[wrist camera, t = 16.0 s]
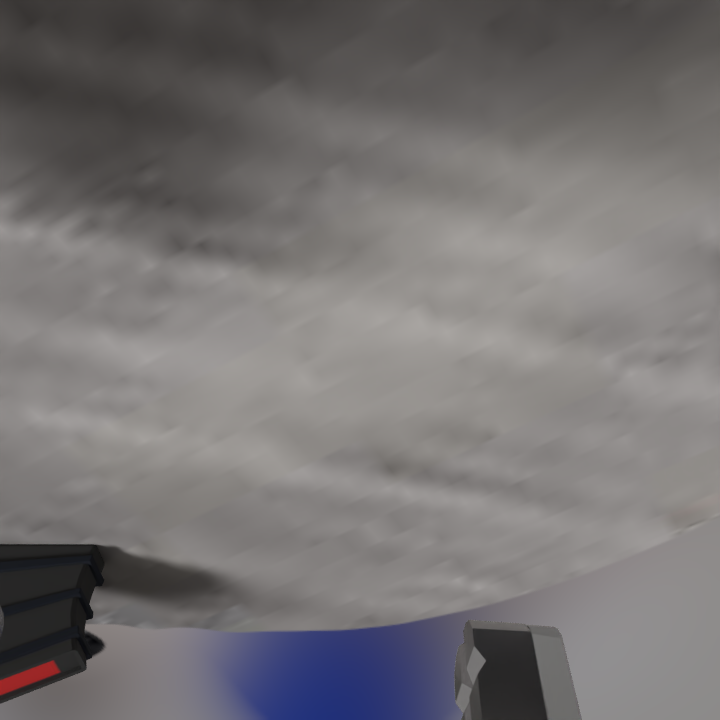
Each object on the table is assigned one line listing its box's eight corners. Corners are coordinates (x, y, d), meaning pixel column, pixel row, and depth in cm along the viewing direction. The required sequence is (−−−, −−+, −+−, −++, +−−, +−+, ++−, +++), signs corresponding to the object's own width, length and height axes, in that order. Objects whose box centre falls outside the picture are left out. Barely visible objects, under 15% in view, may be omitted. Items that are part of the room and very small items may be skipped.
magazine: (-56, 555, 58) (-82, 705, 47) (91, 508, 62) (102, 636, 51) (-40, 580, 60) (-60, 729, 49) (102, 533, 64) (115, 661, 53)
